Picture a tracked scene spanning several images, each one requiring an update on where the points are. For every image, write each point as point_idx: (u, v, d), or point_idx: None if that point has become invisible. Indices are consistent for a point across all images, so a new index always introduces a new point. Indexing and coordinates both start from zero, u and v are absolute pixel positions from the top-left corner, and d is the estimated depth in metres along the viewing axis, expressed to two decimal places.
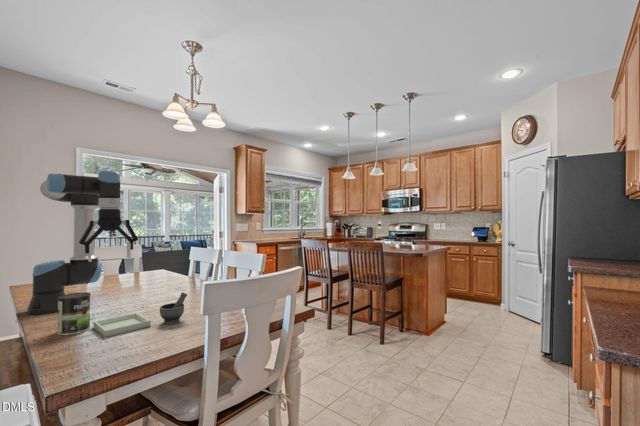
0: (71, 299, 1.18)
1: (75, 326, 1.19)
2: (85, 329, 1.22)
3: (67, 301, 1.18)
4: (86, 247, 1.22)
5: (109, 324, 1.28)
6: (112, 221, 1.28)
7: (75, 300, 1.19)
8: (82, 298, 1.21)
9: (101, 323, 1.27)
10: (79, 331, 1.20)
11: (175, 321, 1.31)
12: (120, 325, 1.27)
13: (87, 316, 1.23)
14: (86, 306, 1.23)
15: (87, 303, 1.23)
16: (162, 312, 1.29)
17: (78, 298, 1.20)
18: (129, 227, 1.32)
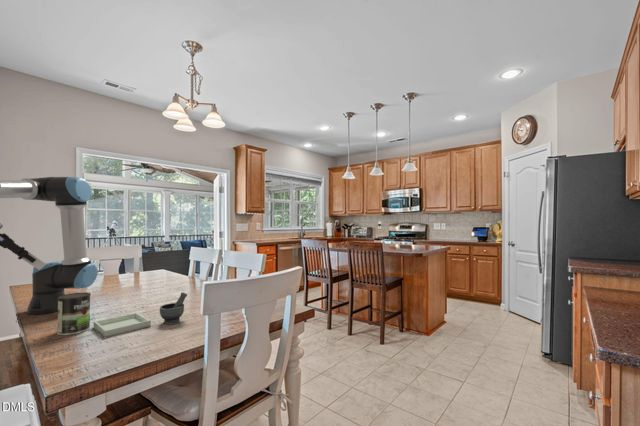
0: (71, 299, 1.18)
1: (75, 326, 1.19)
2: (85, 329, 1.22)
3: (67, 301, 1.18)
4: None
5: (109, 324, 1.28)
6: None
7: (75, 300, 1.19)
8: (82, 298, 1.21)
9: (101, 323, 1.27)
10: (79, 331, 1.20)
11: (175, 321, 1.31)
12: (120, 325, 1.27)
13: (87, 316, 1.23)
14: (86, 306, 1.23)
15: (87, 303, 1.23)
16: (162, 312, 1.29)
17: (78, 298, 1.20)
18: (3, 245, 1.03)
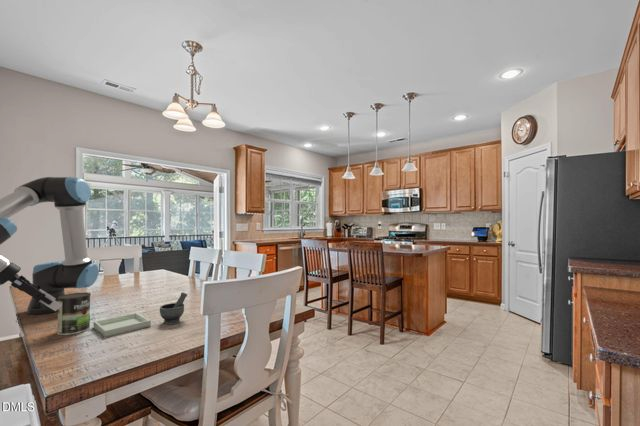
0: (71, 299, 1.18)
1: (75, 326, 1.19)
2: (85, 329, 1.22)
3: (67, 301, 1.18)
4: None
5: (109, 324, 1.28)
6: (12, 282, 1.09)
7: (75, 300, 1.19)
8: (82, 298, 1.21)
9: (101, 323, 1.27)
10: (79, 331, 1.20)
11: (175, 321, 1.31)
12: (120, 325, 1.27)
13: (87, 316, 1.23)
14: (86, 306, 1.23)
15: (87, 303, 1.23)
16: (162, 312, 1.29)
17: (78, 298, 1.20)
18: (21, 289, 1.06)
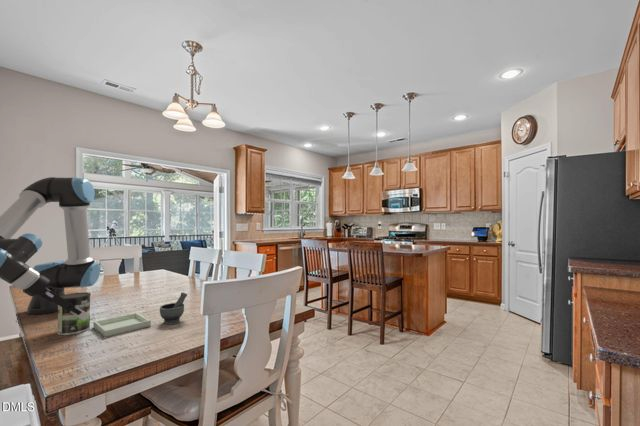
0: (71, 299, 1.18)
1: (75, 325, 1.19)
2: (85, 329, 1.22)
3: (67, 300, 1.18)
4: None
5: (109, 324, 1.28)
6: None
7: (75, 300, 1.19)
8: (82, 298, 1.21)
9: (101, 323, 1.27)
10: (79, 331, 1.20)
11: (175, 321, 1.31)
12: (120, 325, 1.27)
13: None
14: (86, 306, 1.23)
15: (87, 303, 1.23)
16: (162, 312, 1.29)
17: (78, 298, 1.20)
18: (53, 301, 1.13)
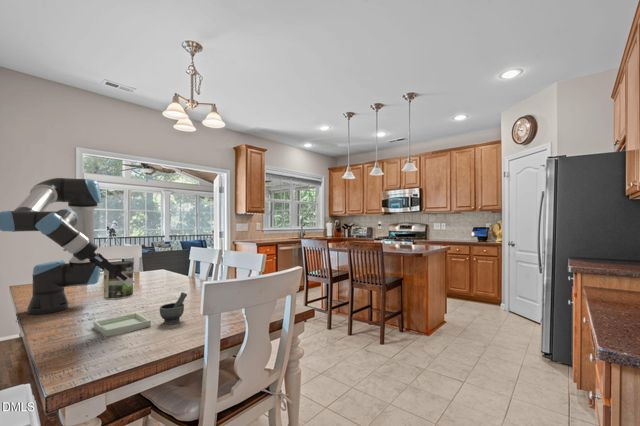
0: (117, 265, 1.22)
1: (121, 291, 1.22)
2: (129, 295, 1.25)
3: None
4: None
5: (109, 324, 1.28)
6: (90, 257, 1.18)
7: (121, 266, 1.22)
8: (127, 265, 1.24)
9: (101, 323, 1.27)
10: (124, 297, 1.23)
11: (175, 321, 1.31)
12: (120, 325, 1.27)
13: None
14: (130, 273, 1.26)
15: (131, 270, 1.26)
16: (161, 312, 1.29)
17: (123, 264, 1.23)
18: (102, 265, 1.16)
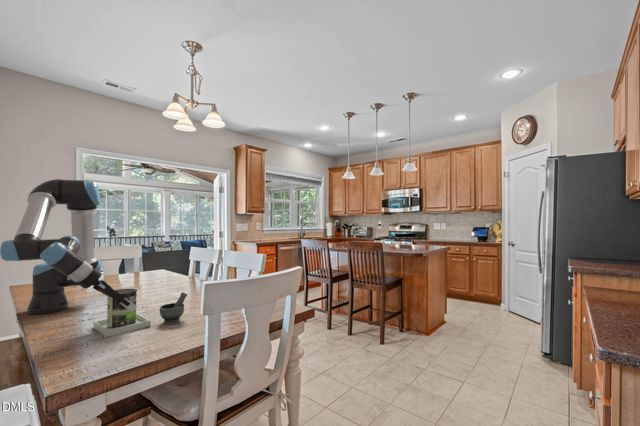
0: None
1: (124, 320, 1.23)
2: None
3: None
4: None
5: None
6: (94, 285, 1.19)
7: (124, 296, 1.23)
8: (130, 294, 1.25)
9: (101, 323, 1.27)
10: None
11: (175, 321, 1.31)
12: None
13: (134, 311, 1.27)
14: (134, 302, 1.27)
15: (134, 299, 1.27)
16: (162, 312, 1.29)
17: (127, 294, 1.24)
18: (105, 292, 1.17)
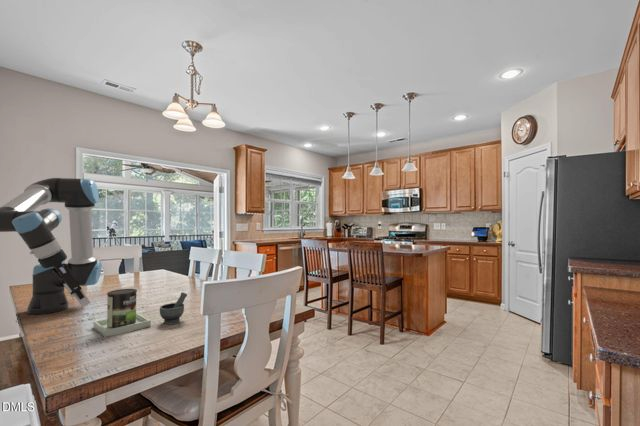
0: (121, 295, 1.22)
1: (124, 320, 1.23)
2: None
3: (117, 296, 1.22)
4: (65, 284, 1.21)
5: None
6: (54, 268, 1.11)
7: (124, 296, 1.23)
8: (130, 294, 1.25)
9: (101, 323, 1.27)
10: None
11: (175, 321, 1.31)
12: None
13: (134, 311, 1.27)
14: (134, 302, 1.27)
15: (134, 299, 1.27)
16: (161, 312, 1.29)
17: (127, 294, 1.24)
18: (63, 278, 1.08)
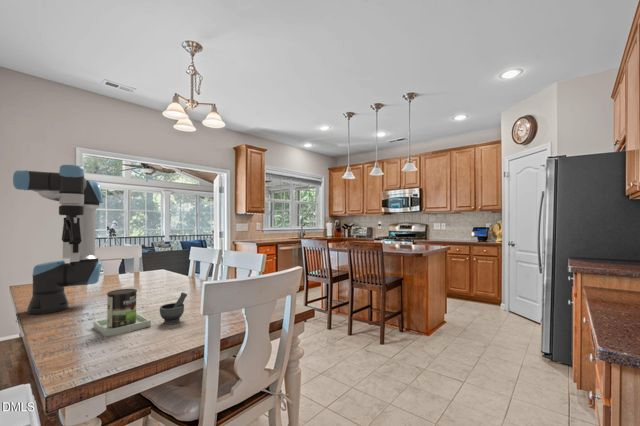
0: (121, 295, 1.22)
1: (124, 320, 1.23)
2: None
3: (117, 296, 1.22)
4: None
5: None
6: (68, 219, 1.18)
7: (124, 296, 1.23)
8: (130, 294, 1.25)
9: (101, 323, 1.27)
10: None
11: (175, 321, 1.31)
12: None
13: (134, 311, 1.27)
14: (134, 302, 1.27)
15: (134, 299, 1.27)
16: (161, 312, 1.29)
17: (127, 294, 1.24)
18: (71, 226, 1.14)
